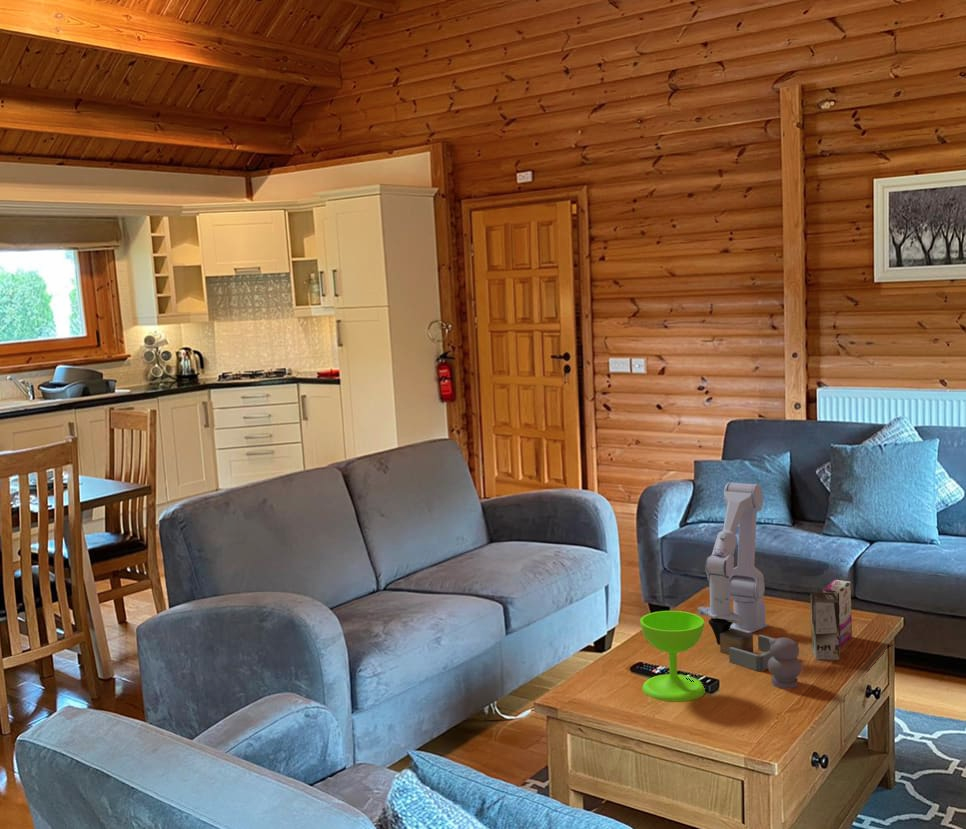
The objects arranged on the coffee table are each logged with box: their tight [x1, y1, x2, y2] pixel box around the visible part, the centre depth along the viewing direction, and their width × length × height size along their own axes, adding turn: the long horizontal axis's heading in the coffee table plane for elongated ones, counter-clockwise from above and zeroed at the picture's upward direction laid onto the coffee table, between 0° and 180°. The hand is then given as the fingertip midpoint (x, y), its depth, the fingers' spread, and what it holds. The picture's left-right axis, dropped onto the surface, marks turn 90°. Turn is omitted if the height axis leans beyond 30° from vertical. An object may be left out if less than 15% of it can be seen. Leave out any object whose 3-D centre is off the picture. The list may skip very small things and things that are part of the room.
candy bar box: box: [821, 579, 853, 649], centre depth 274 cm, size 11×5×16 cm, turn 143°
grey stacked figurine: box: [767, 637, 803, 690], centre depth 247 cm, size 8×8×12 cm
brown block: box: [719, 628, 754, 656], centre depth 270 cm, size 6×7×5 cm
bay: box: [728, 634, 776, 672], centre depth 264 cm, size 14×10×4 cm
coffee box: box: [810, 592, 840, 661], centre depth 265 cm, size 9×6×16 cm
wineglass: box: [639, 610, 706, 703], centre depth 247 cm, size 16×16×18 cm
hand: (721, 643), depth 274 cm, fingers closed
